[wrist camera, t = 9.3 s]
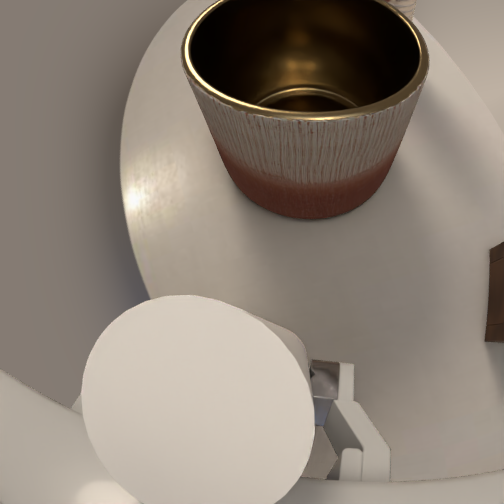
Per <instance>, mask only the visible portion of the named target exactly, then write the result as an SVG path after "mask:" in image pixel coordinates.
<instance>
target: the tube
mask: <svg viewBox="0 0 504 504" xmlns="http://www.w3.org/2000/svg"><path fill="white" fill-rule="evenodd" d="M81 399H82V411H83V418H84V422H85V426H86V430H87V433H88V437H89V439H90V441H91V443H92V446H93V448H94V450H95V452H96V454H97V456H98V458H99V459H100V461H101V462H102V464H103V465H104V467H105V468H106V469H107V471H108V472H109V474H110V475H111V476H112V477H113V478H114V479H115V480H116V481H117V482H118V483H119V484H120V485H121V487H122V488H123V489H125V490H126V491H127V492H128V493H130V494H131V495H132V496H133V497H135V498H136V499H137V500H139V501H140V502H142V503H144V504H274V503H276V502H277V501H278V500H280V499H281V498H282V497H283V496H285V495H286V494H287V492H288V491H289V490H290V489H291V488H292V487H293V485H294V484H295V483H296V482H297V481H298V479H299V478H300V476H301V474H302V472H303V470H304V468H305V466H306V464H307V462H308V460H309V457H310V453H311V449H312V445H313V440H314V436H315V420H314V403H313V395H312V388H311V380H310V373H309V366H308V358H307V353H306V349H305V347H304V345H303V343H302V341H301V340H300V339H299V337H298V336H296V335H295V334H294V333H293V332H291V331H289V330H288V329H285V328H283V327H281V326H278V325H276V324H274V323H271V322H269V321H267V320H265V319H262V318H260V317H258V316H255V315H253V314H251V313H249V312H246V311H244V310H242V309H239V308H237V307H234V306H232V305H229V304H227V303H224V302H222V301H219V300H216V299H211V298H205V297H200V296H194V295H178V296H165V297H161V298H157V299H153V300H149V301H145V302H143V303H141V304H139V305H137V306H135V307H133V308H131V309H129V310H127V311H125V312H124V313H123V314H122V315H120V316H119V317H118V318H117V319H116V320H114V321H113V322H112V323H111V324H109V326H108V327H107V328H106V330H105V331H104V332H103V333H102V334H101V336H100V337H99V338H98V340H97V341H96V343H95V345H94V347H93V349H92V351H91V353H90V355H89V357H88V361H87V364H86V368H85V370H84V374H83V383H82V392H81Z"/></svg>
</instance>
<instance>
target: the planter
mask: <svg viewBox="0 0 504 504" xmlns="http://www.w3.org/2000/svg"><path fill="white" fill-rule="evenodd" d="M181 62H182V66H183V69H184V72H185V74H186V77H187V79H188V81H189V84H190V86H191V88H192V90H193V92H194V95H195V97H196V99H197V102H198V104H199V106H200V108H201V111H202V113H203V115H204V118H205V120H206V122H207V125H208V127H209V129H210V132H211V134H212V137H213V139H214V141H215V144H216V146H217V149H218V151H219V153H220V156H221V158H222V160H223V163H224V165H225V167H226V169H227V171H228V173H229V174H230V176H231V178H232V179H233V181H234V182H235V184H236V185H237V186H238V188H239V189H240V190H241V191H242V192H243V193H244V194H245V195H246V196H247V197H248V198H250V199H251V200H252V201H254V202H255V203H256V204H258V205H260V206H261V207H263V208H265V209H267V210H269V211H272V212H274V213H277V214H280V215H284V216H287V217H292V218H300V219H321V218H328V217H333V216H337V215H340V214H343V213H346V212H348V211H350V210H352V209H354V208H356V207H358V206H359V205H361V204H362V203H364V202H365V201H366V200H368V199H369V198H370V197H371V196H372V195H373V194H374V193H375V192H376V191H377V189H378V188H379V187H380V185H381V184H382V182H383V181H384V179H385V177H386V175H387V174H388V172H389V170H390V168H391V165H392V163H393V161H394V158H395V156H396V154H397V151H398V149H399V146H400V144H401V141H402V139H403V136H404V134H405V131H406V129H407V127H408V124H409V121H410V119H411V116H412V114H413V111H414V109H415V106H416V104H417V101H418V99H419V96H420V93H421V91H422V88H423V86H424V83H425V80H426V77H427V74H428V69H429V53H428V49H427V45H426V43H425V41H424V38H423V37H422V35H421V33H420V32H419V30H418V29H417V27H416V26H415V25H414V24H413V23H412V21H411V20H410V19H409V18H408V17H407V16H406V15H404V14H403V13H402V12H401V11H400V10H398V9H397V8H396V7H394V6H393V5H391V4H390V3H388V2H386V1H385V0H218V1H216V2H215V3H213V4H212V5H211V6H209V7H208V8H207V9H205V10H204V11H203V12H202V13H201V14H200V15H199V16H198V17H197V18H196V19H195V20H194V21H193V22H192V24H191V25H190V27H189V28H188V30H187V32H186V34H185V36H184V38H183V41H182V45H181Z"/></svg>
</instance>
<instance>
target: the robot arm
mask: <svg viewBox="0 0 504 504" xmlns="http://www.w3.org/2000/svg"><path fill="white" fill-rule="evenodd" d="M354 370H355V366H354V364H351V363H341V362H340V363H339V362H332V361H323V360H313V359H312V361H311V365H310V371H309V373H310V380H311V388H312V395H313V403H314V420H315V425H317V426H324V427H323V428H324V430H325V432H326V434H327V436H328V438H329V440H330V442H331V444H332V446H333V448H334V450H335V452H336V454H337V456H338V459H337V461H336V463H335V464H334V466H333V467H332V469H331V471H330V472H329V474H328V475H327V480H325V479H315V478H305V477H300V478H299V479H298V481H297V482H296V483H295V484H294V485H293V487H292V488H291V489H290V490H289V491H288V492H287V494H286V495H285V496H283V497H282V498H281V499H280V500H278V501H277V502H276V503H274V504H504V469H502V470H497V471H492V472H487V473H481V474H475V475H468V476H461V477H453V478H444V479H434V480H421V481H400V482H390V470H391V449H390V447H389V446H388V444H387V443H386V442H385V440H384V439H383V437H382V436H381V434H380V433H379V431H378V430H377V429H376V427H375V426H374V424H373V423H372V421H371V420H370V418H369V417H368V416H367V414H366V413H365V411H364V410H363V408H362V407H361V406H360V404H359V403H358V402H355V401H354ZM0 504H144V503H142V502H140V501H139V500H137V499H136V498H135V497H133V496H132V495H131V494H130V493H128V492H127V491H126V490H125V489H123V488H122V487H121V485H120V484H119V483H118V482H117V481H116V480H115V479H114V478H113V477H112V476H111V475H110V474H109V472H108V471H107V469H106V468H105V467H104V465H103V464H102V462H101V461H100V459H99V458H98V456H97V454H96V452H95V450H94V448H93V446H92V443H91V441H90V439H89V437H88V433H87V430H86V426H85V422H84V418H83V411H82V399H81V394H80V395H79V397H78V398H77V400H76V401H75V403H74V404H73V406H72V407H71V409H70V408H68V407H66V406H64V405H62V404H60V403H58V402H56V401H54V400H53V399H51V398H49V397H47V396H45V395H43V394H41V393H40V392H38V391H36V390H34V389H33V388H31V387H29V386H27V385H26V384H24V383H22V382H21V381H19V380H18V379H16V378H14V377H13V376H11V375H10V374H8V373H6V372H5V371H3V370H2V369H0Z"/></svg>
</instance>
